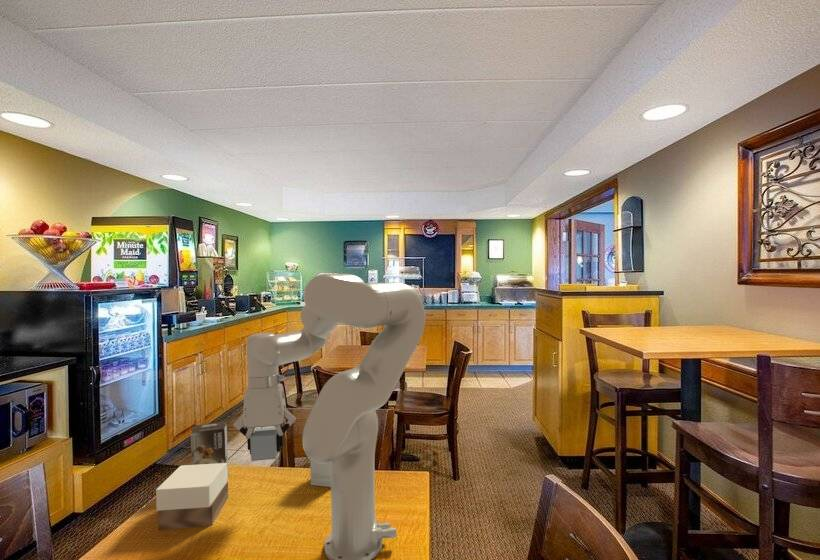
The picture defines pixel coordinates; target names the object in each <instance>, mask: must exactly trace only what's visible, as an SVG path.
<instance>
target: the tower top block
mask: <svg viewBox="0 0 820 560" xmlns="http://www.w3.org/2000/svg"><path fill="white" fill-rule="evenodd" d="M228 478H229V475H228V474H227V463H216V464H198V465H192V464H189V465H188V464H187V465H186V464H185V465H179V467H177V469H175V471H174V472H172V473H171V475H169V476H168V477H167V478H166V479H165V480H164V481H163V482H162V483H161V484H160V485H159V486H158V487H157V488H156V489H155V494H156V496H155V497H156V498H155V499H156V500H155V503H156V504H155V505H156V508H155V509H156V511H159V510H174V509H188V508H203V507H210V506H211V504H212V503H213V501H214V500H215V498H216V497H217V496H218V494H219V493H220V491H221V490H222V489H223V487H224V486H225V484H226V483H227V481H228V482H229V480H228Z"/></svg>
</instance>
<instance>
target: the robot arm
mask: <svg viewBox="0 0 820 560" xmlns="http://www.w3.org/2000/svg"><path fill="white" fill-rule="evenodd" d="M303 301H304V306H303V307H302V308H301V311H300V317H299V318H300V321H301V324H302V326H304V327H303V328H302V329H299V330H298V331H291V332H285V333H278V334H275V333H272V332H263V333H260V332H259V333H254V334H253V333H252V334H251V335H249V336H248V337H247V339H246V361H247V363H246V364H247V366H246V367H247V387H246V388H245V391H244V396H243V397H244V399H243V406H242V409H243V410H242V414H241V415H240V416H239V418H237V419H236V420H235V422H234V423H233V427H234V428H235V429H237V430H238V431H239V432H240V433H241V434H242V435H243V436H244V437H245V439H246V440H247V442H246V443H247V450H249V454H250V455H251V442H250V437H251V436H252V434H253V433H254V431H255V430H256V428H268V427H275V429H276V431H277V452H279V453H280V452H281V450H282V448H283V447H284V446H285V445H284V444H285V438H284V435H285V432H286V431H287V430H288V429H290V427H291V426H292V425H293V424H294V423H295V422H296V420H297V417H296V416H294V414H292V413H291V412H290V411H289V410H288V409H287V405H286V396H285V391H284V385H283V383H281V382H283V381H285V377H286V376H285V375H281V374H280V372H279V366H281V365H287V364H289V363H293V362H299V361H303V360H306V359H308V358H310V357H312V356H313V355H314V354H316V353H317V352H318V351H319V350H321V349H322V348H324V347H325V346H326V344H327V343H328V341H329V338H330V337H331V332H332V331H333V330H334V329H336V328H337V327H338V326H339V325H341V324H344V325H347V326H351V327H354V328H361V329H370V328H376V327H382V326H383V328H382V330H381V331H380V332H379V333H378V334H377V335H376V336H375V338H374V339H373V341H372V342H371V343H370V345H369V347H368V350H367V352H366V353H365V356H364V357H363V359H362V361H361V362H360V363H359V364H358V365H356V366H355V367H353V368H351V369H350V368H349V369H346V370H344V371H341V372H339V373H336V374H334V375H333V376H332V377H330V378H329V379H328V380H327V381H326V383H325V384H324V385H323V387H322V388H321V390H320V392H319V394H318V396H317V398H316V400H315V402H314V404H313V407H312V409H311V411H310V413H309V415H308V417H307V420H306V421H305V424H304V426H303V430H302V438H301V439H302V440H301V442H302V448H303V450H304V453H305V455H306V457H307V458H308V459H309V460H311V461H313V462H315V463H318V464H327V463H330V462H332V464H331V487H330V491H331V492H330V505H331V506H330V508H331V510H330V511H331V532H330V533H329V534H328V536H327V537H326V539H325V541H324V554H325V556H326V558H328V560H373V559H374V558H376V557H377V556H378V555H379V553H380V552H381V550H382V548H383V539H394V538H397V527H396V526H395V527H391V523H390V522H383V523H380V522H377V516H376V502H375V501H376V498H375V497H376V495H375V494H376V493H375V492H376V491H375V488H376V487H375V470H376V469H375V457H376V456H375V455H376V454H375V453H376V445H377V439H378V433H379V419H378V415H377V410H378V409H380V408H381V407H383V406H384V405H385V404H386V403H387V402H388V401H389V399H390V398H391V395H392V393H393V391H394V389H395V388H396V386H397V384H398V382H399V380H400V378H401V377H402V375H403V373H404V371H405V368H406V366H407V364H408V363H409V361H410V359H411V357H412V355H413V354H414V352H415V350H416V349H417V347H418V345H419V343H420V341H421V339H422V337H423V333H424V329H425V326H426V310H425V306H424V303H423V300H422V297H421V296H420V294H419V292H417V291H416V290H415V288H413V287H412V286H410V285H408V284H405V283H402V282H393V281H392V282H389V281H388V282H370V283H366V282H365V281H364V280H363V279H362V278H361V277H359V276H358V275H355V274H351V273H320V274H318V275H315V276H314V277H312V278H311V279H310V280H309V281H308V282H307V283H306V286H305V288H304V291H303ZM285 419H287V422H286V423H284V422H285V421H284V420H285ZM283 423H284V425H283Z"/></svg>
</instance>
